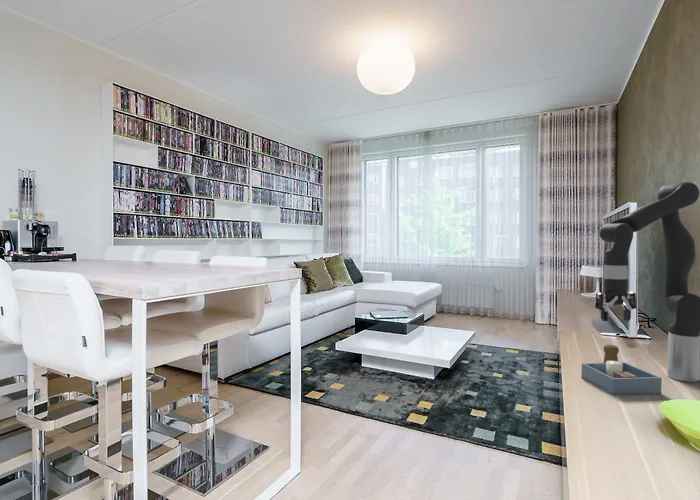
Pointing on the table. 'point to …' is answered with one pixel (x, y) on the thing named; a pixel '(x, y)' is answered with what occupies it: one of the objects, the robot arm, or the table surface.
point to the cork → (610, 353)
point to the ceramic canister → (613, 367)
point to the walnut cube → (623, 375)
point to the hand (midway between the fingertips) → (615, 320)
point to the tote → (622, 380)
